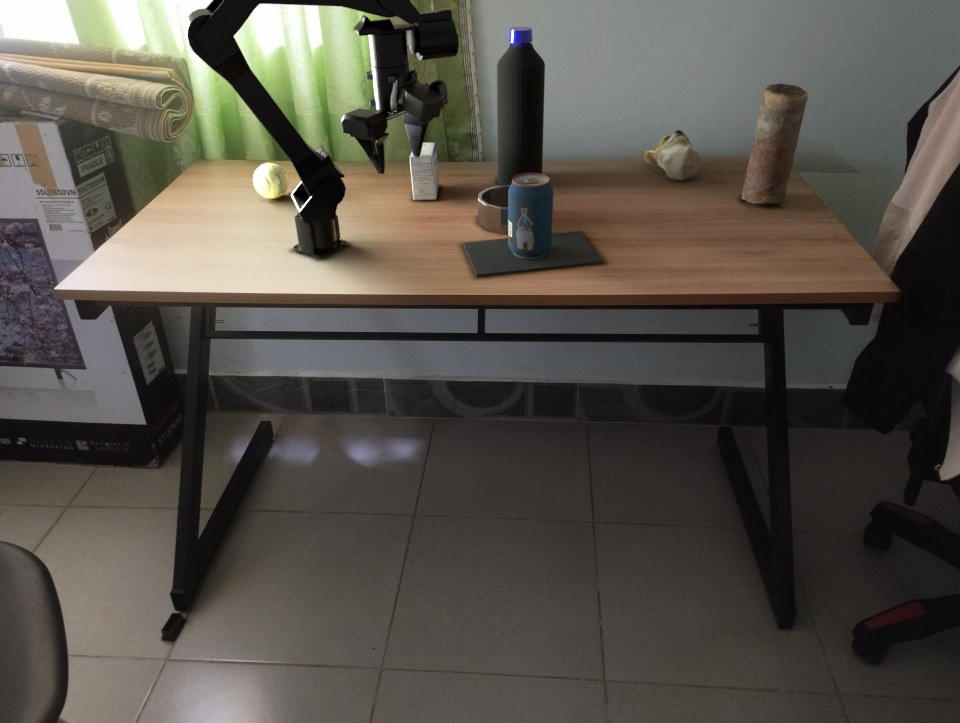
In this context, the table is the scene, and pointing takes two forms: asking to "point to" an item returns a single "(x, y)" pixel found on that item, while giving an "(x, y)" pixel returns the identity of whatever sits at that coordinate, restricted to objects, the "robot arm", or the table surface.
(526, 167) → the bottle
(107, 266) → the table surface
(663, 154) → the ceramic sculpture
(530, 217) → the soda can
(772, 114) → the brown tall cylinder
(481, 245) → the rubber mat
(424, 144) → the medicine box
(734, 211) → the table surface
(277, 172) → the tennis ball
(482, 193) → the steel holder
